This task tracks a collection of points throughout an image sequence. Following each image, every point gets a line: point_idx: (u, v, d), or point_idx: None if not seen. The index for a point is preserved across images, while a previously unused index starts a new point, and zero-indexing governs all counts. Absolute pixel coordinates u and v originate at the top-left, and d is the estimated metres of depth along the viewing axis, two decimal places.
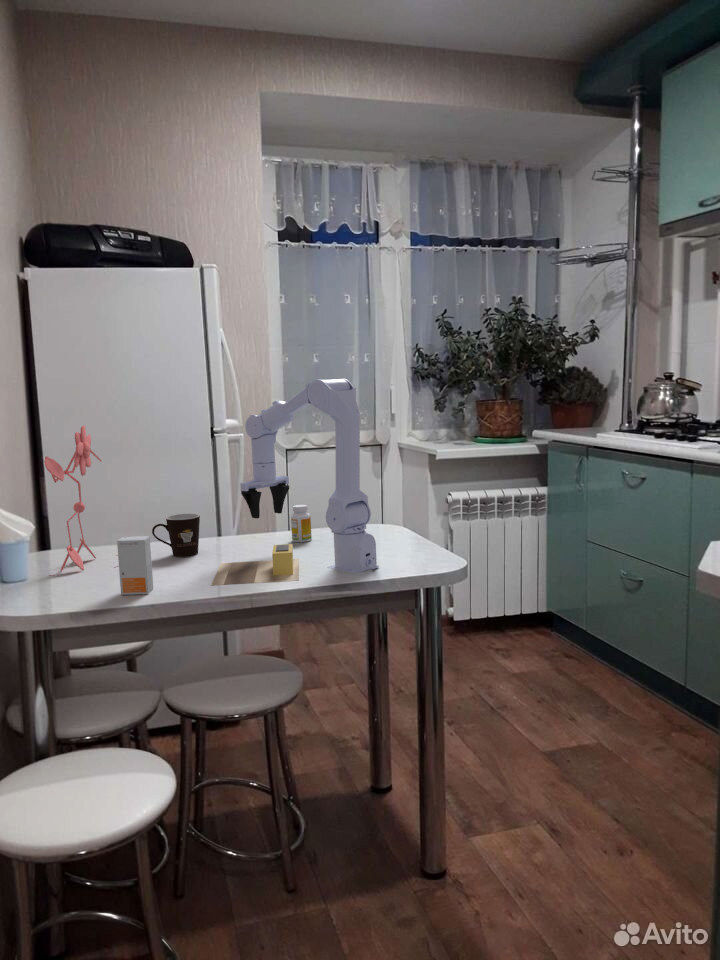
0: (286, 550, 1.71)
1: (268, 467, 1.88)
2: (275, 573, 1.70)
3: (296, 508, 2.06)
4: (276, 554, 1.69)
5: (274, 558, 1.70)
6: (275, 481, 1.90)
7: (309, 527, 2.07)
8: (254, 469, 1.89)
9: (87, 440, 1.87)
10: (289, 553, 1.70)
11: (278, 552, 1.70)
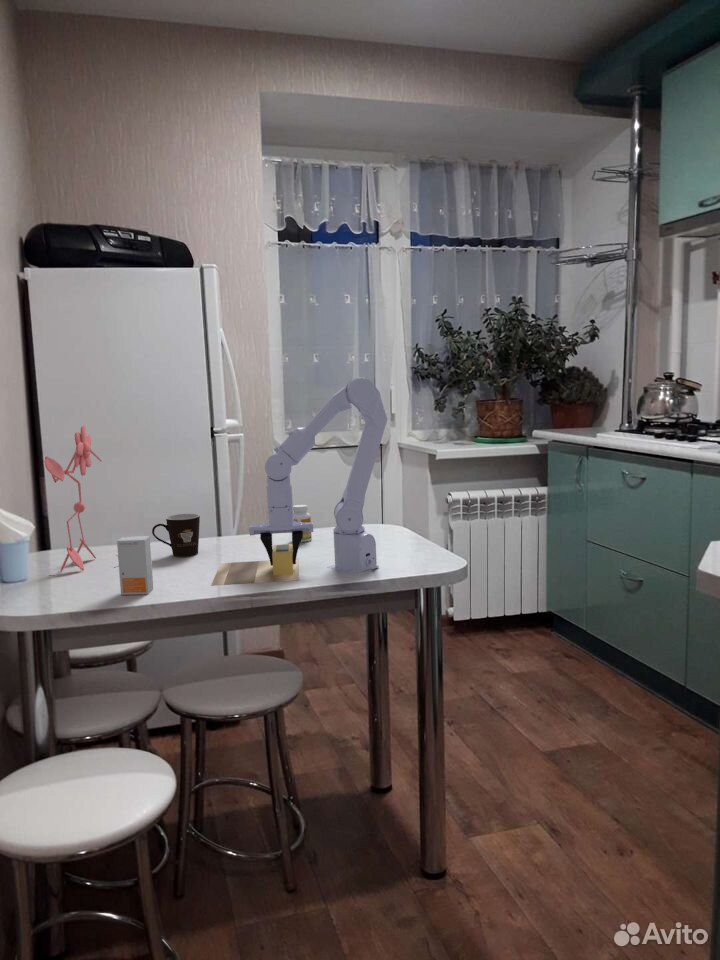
0: (286, 550, 1.71)
1: (276, 512, 1.70)
2: (275, 573, 1.70)
3: (296, 508, 2.06)
4: (276, 554, 1.69)
5: (274, 558, 1.70)
6: (285, 528, 1.71)
7: None
8: None
9: (87, 440, 1.87)
10: (289, 553, 1.70)
11: (278, 552, 1.70)
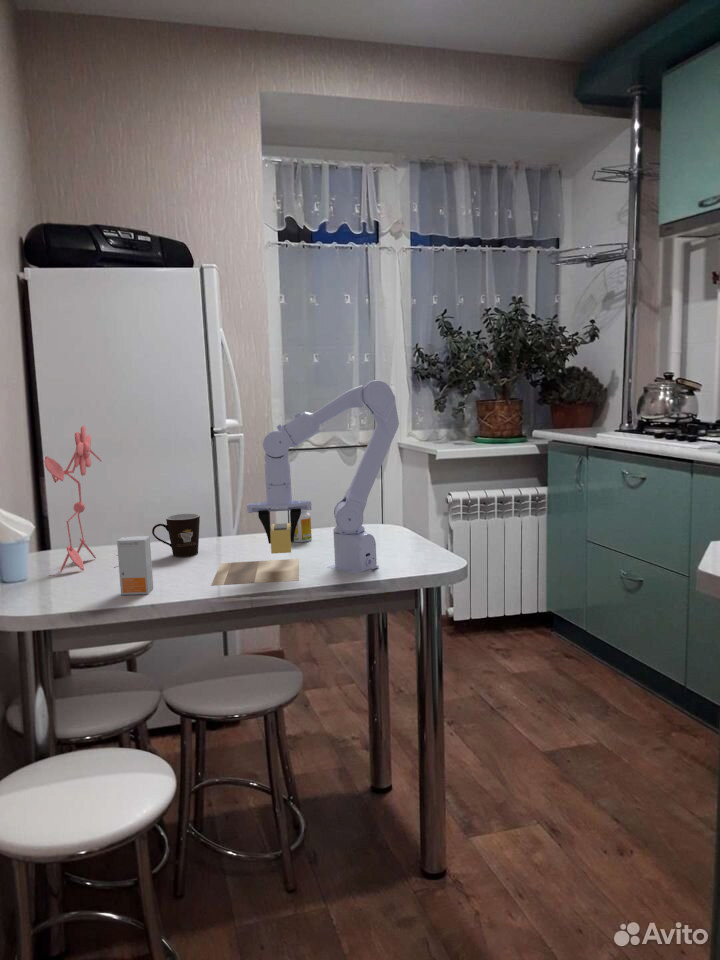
0: (284, 528, 1.71)
1: (274, 490, 1.69)
2: (273, 551, 1.69)
3: None
4: (274, 532, 1.69)
5: (272, 536, 1.69)
6: (283, 506, 1.70)
7: (309, 527, 2.07)
8: None
9: (87, 440, 1.87)
10: (287, 531, 1.69)
11: (276, 530, 1.70)
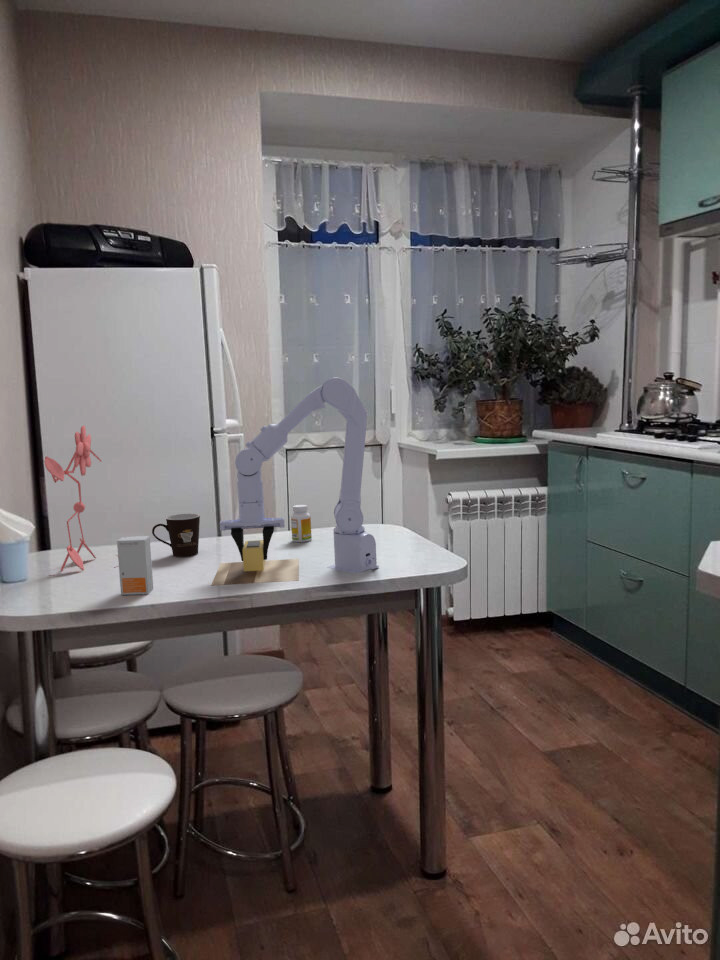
0: (257, 546, 1.71)
1: (246, 507, 1.69)
2: (245, 569, 1.69)
3: (296, 508, 2.06)
4: (246, 550, 1.69)
5: (244, 554, 1.69)
6: (255, 524, 1.70)
7: (309, 527, 2.07)
8: None
9: (87, 440, 1.87)
10: (259, 549, 1.69)
11: (248, 548, 1.70)
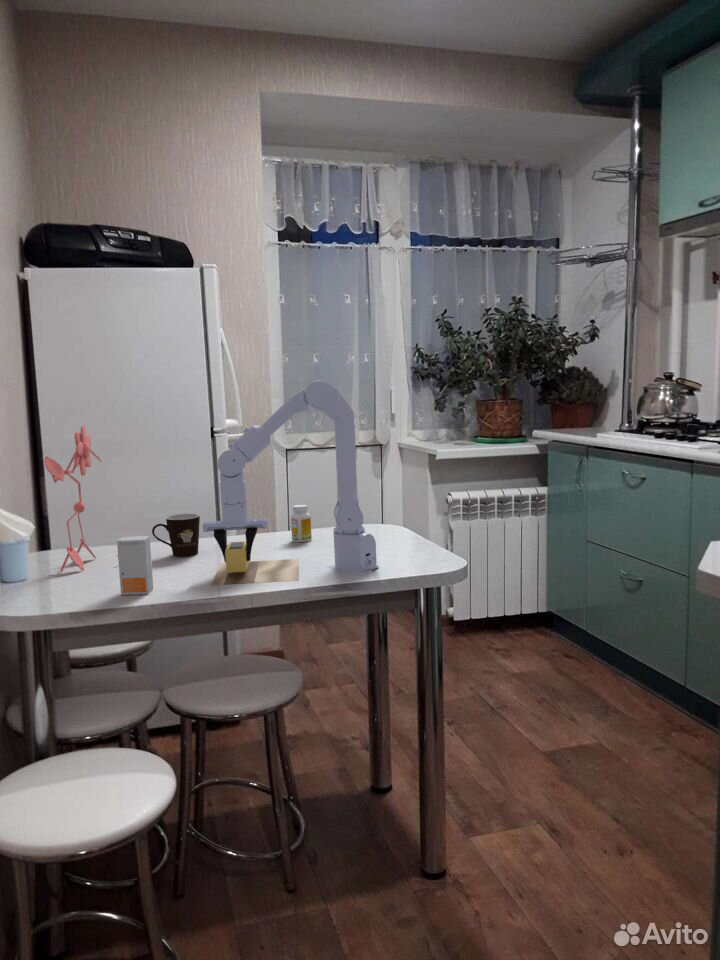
0: (239, 547, 1.70)
1: (229, 509, 1.69)
2: (228, 570, 1.69)
3: (296, 508, 2.06)
4: (229, 551, 1.69)
5: (227, 555, 1.69)
6: (238, 525, 1.70)
7: (309, 527, 2.07)
8: None
9: (87, 440, 1.87)
10: (242, 550, 1.69)
11: (231, 549, 1.69)
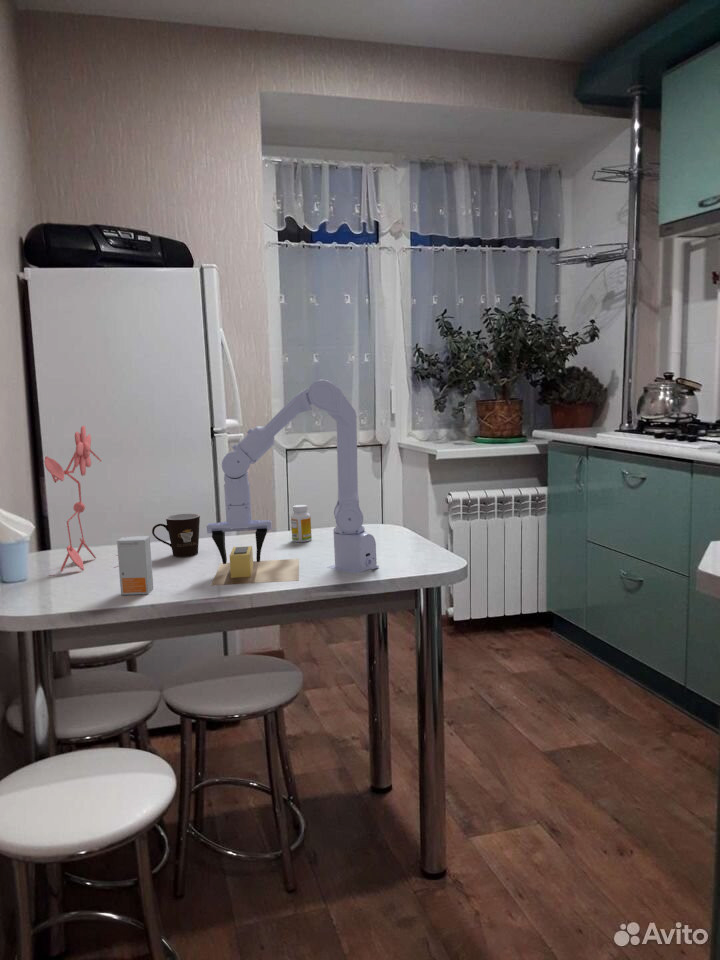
0: (244, 552, 1.71)
1: (233, 510, 1.69)
2: (233, 575, 1.69)
3: (296, 508, 2.06)
4: (233, 556, 1.69)
5: (231, 560, 1.69)
6: (242, 526, 1.70)
7: (309, 527, 2.07)
8: None
9: (87, 440, 1.87)
10: (247, 555, 1.69)
11: (236, 554, 1.70)
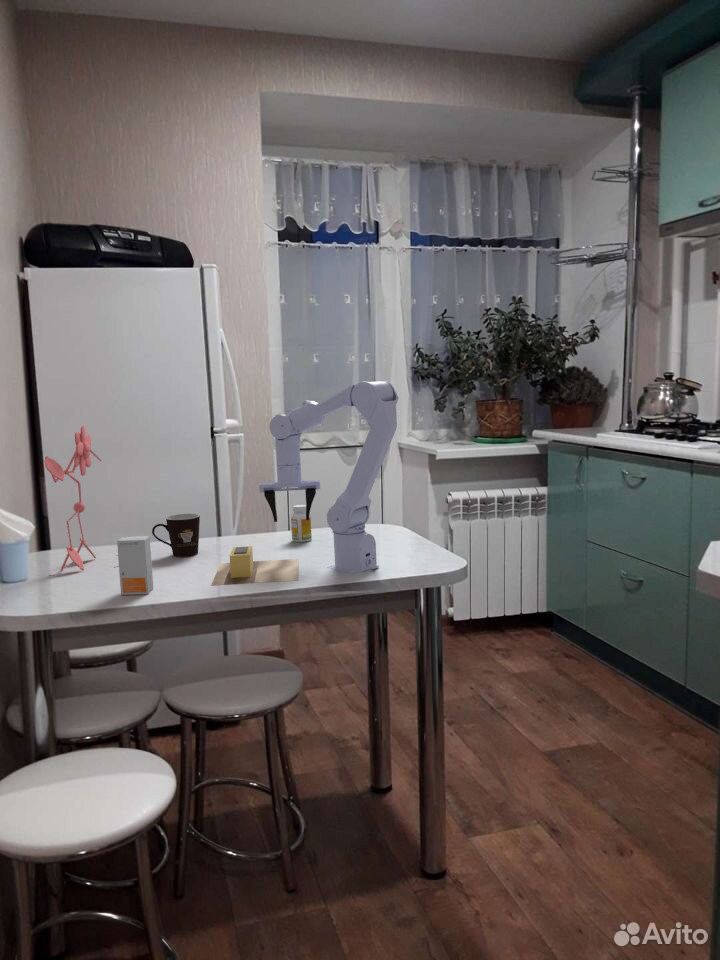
0: (244, 552, 1.71)
1: (284, 470, 1.78)
2: (233, 575, 1.69)
3: (296, 508, 2.06)
4: (233, 556, 1.69)
5: (231, 560, 1.69)
6: (293, 485, 1.79)
7: (309, 527, 2.07)
8: None
9: (87, 440, 1.87)
10: (247, 555, 1.69)
11: (236, 554, 1.70)
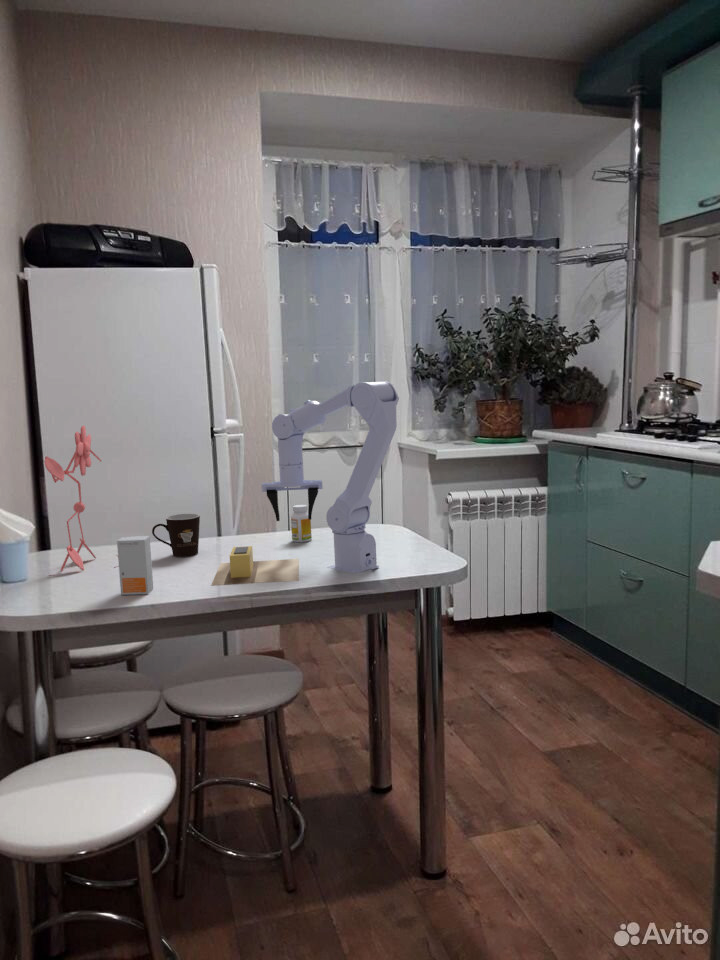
0: (244, 552, 1.71)
1: (287, 469, 1.79)
2: (233, 575, 1.69)
3: (296, 508, 2.06)
4: (233, 556, 1.69)
5: (231, 560, 1.69)
6: (295, 485, 1.79)
7: (309, 527, 2.07)
8: None
9: (87, 440, 1.87)
10: (247, 555, 1.69)
11: (236, 554, 1.70)
